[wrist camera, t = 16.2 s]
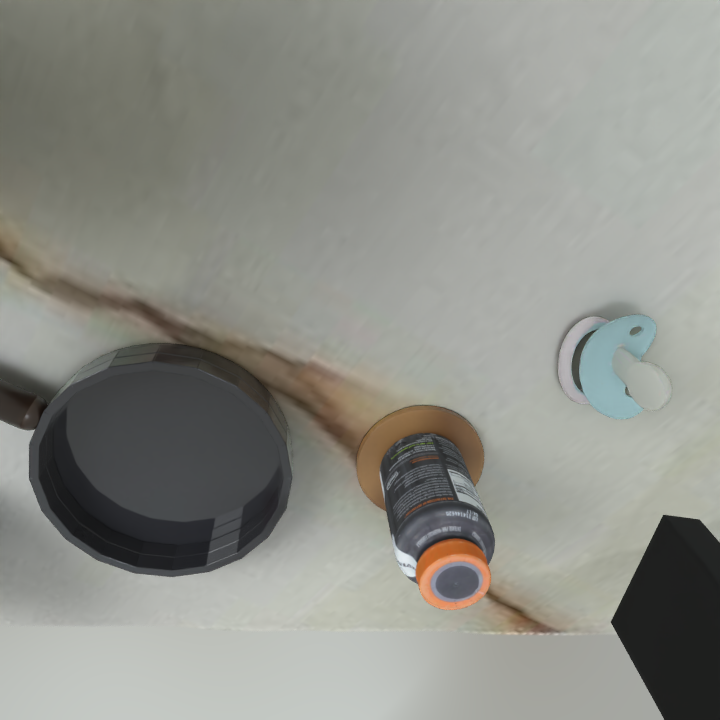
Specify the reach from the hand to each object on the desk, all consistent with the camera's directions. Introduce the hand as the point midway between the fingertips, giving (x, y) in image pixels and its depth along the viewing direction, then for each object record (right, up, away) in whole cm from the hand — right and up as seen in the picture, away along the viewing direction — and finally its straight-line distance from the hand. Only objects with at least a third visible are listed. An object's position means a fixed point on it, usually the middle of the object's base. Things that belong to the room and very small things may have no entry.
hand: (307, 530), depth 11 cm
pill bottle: (+5, -4, +34) cm, 34 cm away
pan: (-12, -3, +32) cm, 34 cm away
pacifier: (+17, +3, +32) cm, 36 cm away
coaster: (+5, -4, +34) cm, 35 cm away
